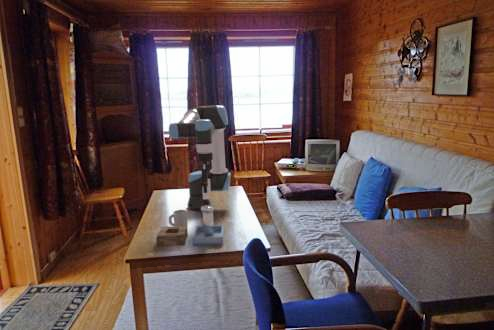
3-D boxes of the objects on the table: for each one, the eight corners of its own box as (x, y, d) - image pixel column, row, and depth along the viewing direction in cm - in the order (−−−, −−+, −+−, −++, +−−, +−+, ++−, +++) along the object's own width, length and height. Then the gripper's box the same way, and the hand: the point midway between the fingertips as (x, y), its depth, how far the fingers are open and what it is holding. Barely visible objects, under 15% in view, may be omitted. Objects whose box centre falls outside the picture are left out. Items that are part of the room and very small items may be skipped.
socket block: (162, 236, 186) (161, 226, 185) (187, 234, 187) (187, 225, 186) (157, 246, 174) (156, 236, 173) (184, 245, 174) (183, 235, 173)
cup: (188, 228, 195) (187, 213, 194) (169, 231, 193) (168, 215, 192) (187, 224, 202) (186, 209, 201) (169, 226, 200) (167, 211, 199)
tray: (196, 233, 188) (196, 226, 188) (223, 232, 189) (223, 225, 188) (193, 245, 173) (192, 238, 172) (222, 244, 173) (222, 236, 172)
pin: (203, 234, 184) (201, 205, 181) (215, 233, 184) (214, 204, 181) (202, 239, 177) (200, 209, 174) (215, 238, 177) (213, 208, 175)
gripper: (199, 148, 185) (201, 188, 189) (193, 157, 160) (196, 203, 164) (213, 148, 185) (215, 188, 189) (210, 156, 160) (213, 202, 165)
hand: (207, 195), depth 177 cm, fingers open, 13 cm apart
